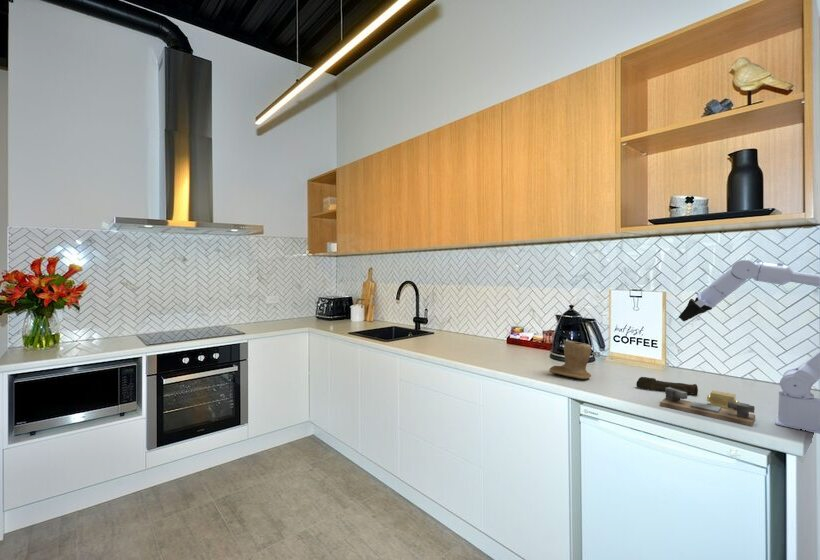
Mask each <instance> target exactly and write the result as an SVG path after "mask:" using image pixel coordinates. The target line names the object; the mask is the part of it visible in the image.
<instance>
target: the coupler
mask: <svg viewBox="0 0 820 560" xmlns="http://www.w3.org/2000/svg"><path fill="white" fill-rule="evenodd" d="M736 395H737V394H736V393H729V392H725V391H724V392H723V391H718V390H714V389H712V390H711V392H710V395H708V394H707V397H706V401H707V402H710V404H709V405H713V406H717V407H721V408H724V409H729V410H734V411H735V409H731V408H728V401H730V402H735V403H740V401H739V400H737V398H736V397H737V396H736Z"/></svg>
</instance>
